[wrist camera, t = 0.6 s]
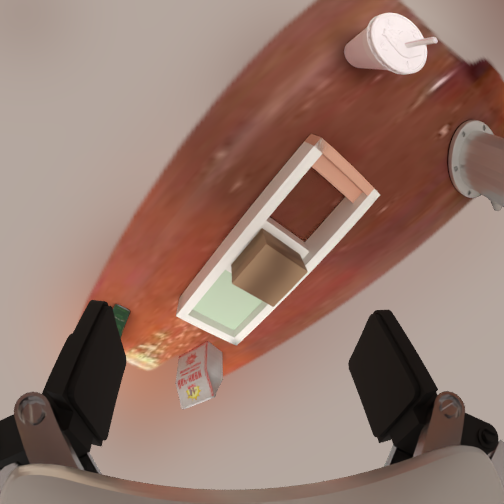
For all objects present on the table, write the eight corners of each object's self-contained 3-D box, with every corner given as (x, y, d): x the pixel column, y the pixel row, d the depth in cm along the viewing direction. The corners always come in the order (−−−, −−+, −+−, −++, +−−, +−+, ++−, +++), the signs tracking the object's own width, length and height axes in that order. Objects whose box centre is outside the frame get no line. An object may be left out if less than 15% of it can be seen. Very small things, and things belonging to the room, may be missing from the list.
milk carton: (222, 352, 46) (223, 401, 37) (193, 367, 48) (190, 413, 39) (207, 340, 44) (205, 391, 36) (179, 356, 46) (173, 404, 37)
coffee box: (118, 339, 43) (98, 401, 32) (103, 332, 42) (80, 393, 31) (131, 310, 40) (109, 377, 29) (115, 302, 39) (88, 367, 28)
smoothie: (374, 86, 28) (450, 87, 15) (327, 65, 26) (389, 46, 14) (385, 45, 25) (460, 30, 12) (340, 22, 23) (403, -13, 11)
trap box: (365, 185, 34) (380, 194, 30) (235, 326, 43) (236, 345, 40) (310, 133, 30) (321, 137, 27) (179, 297, 40) (175, 315, 36)
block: (299, 254, 35) (307, 271, 31) (269, 287, 37) (273, 307, 33) (262, 227, 33) (266, 243, 29) (231, 264, 35) (231, 283, 31)
